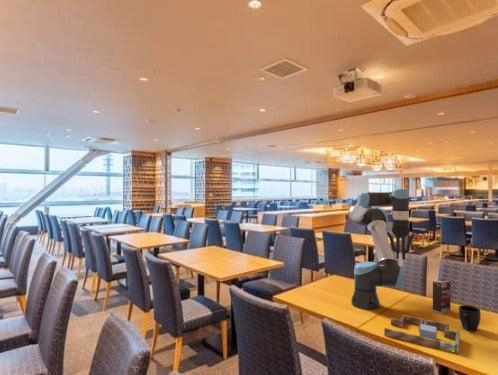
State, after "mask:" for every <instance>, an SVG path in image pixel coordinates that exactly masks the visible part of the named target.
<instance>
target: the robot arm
mask: <svg viewBox="0 0 498 375" xmlns="http://www.w3.org/2000/svg"><path fill="white" fill-rule="evenodd" d="M409 194H410V193H409V189H408V188H394V189H392V191H387V192H386V191H385V192H384V191H383V192H381V191H379V192H378V191H377V192H376V191H375V192H370V191H369V192H367V191H366V192H365V191H364V192H359V193H358V194H357V197H356V202H357V203H355V205H354V206H353V207H351V208H350V209H349V210H348V212H347V218H348V220H349V221H350V223H352V224H354V225H356V226H360V227H361V226H362V227H363V226H364V227H367V230H368V231H370V233H371V238H372V241H373V244H374V249H375V252H376V256H377V260H378V262H373V261H362V262H361V261H360V262H358V263H356V264H355V265H354V269H353V270H354V271H353V273H354V274H353V275H354V278H353V279H354V281H353V282H354V291H353V294H352V296H351V300H350V301H351V305H352V306H354V307H356V308H358V309H363V310H377V309H379V308H380V307H381V301H380V299H379V296H378V293H377V287H379V288H380V287H383V288H385V287H386V288H387V287H388V288H389V287H391V288H398V287H399V288H400V287H403V285H405V281H406V270H405V267H404V260H406V254H407V253H409V252H410V250H411V246H412V244H413V243H412V242H413V238H415V236H416V233H413V232H412V231H411V230H410V220H409V219H410V211H409V209H410V205H409V204H410V203H409V201H410V195H409ZM381 207H392V227H391V228H392V229H391V230H390V231H388V232H387V231H386V227H387V225H388V224H389V218H388V217H389V216H388V213H387V211H386V209H384V208H381ZM393 235H394V236H393ZM408 235H409V239H408V242H407V246H406V237H408ZM394 237H395V239H396V242H395V240H394ZM400 238H401V239H400ZM400 240H401V241H400ZM395 243H396V244H395ZM400 243H401V244H400ZM393 252H395V253H396V259H395V257H394V255H393Z"/></svg>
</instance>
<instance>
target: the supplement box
mask: <svg viewBox="0 0 498 375" xmlns="http://www.w3.org/2000/svg"><path fill="white" fill-rule="evenodd" d="M451 286H452V285H451V281H450V280H446V279H439V280H433V281H432V312H435V313H438V314H444V313H448V312H451V310H452V309H451V308H452V306H451V302H452V300H451V294H452V292H451V289H452V288H451Z"/></svg>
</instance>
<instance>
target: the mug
mask: <svg viewBox="0 0 498 375" xmlns="http://www.w3.org/2000/svg"><path fill="white" fill-rule="evenodd" d="M458 314H459V320H460V323H461V327H462V329H463V330H465V331H469V332H477V331H478V328H479V326H480V321H481V310H480V308H478V307H476V306H473V305H467V304H466V305H465V304H462V305H459V306H458Z"/></svg>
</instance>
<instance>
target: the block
mask: <svg viewBox="0 0 498 375" xmlns="http://www.w3.org/2000/svg"><path fill="white" fill-rule="evenodd" d="M437 331H438V329H437V327H434V326H429V325H425V324H421V326H420V331H419V336H422V337H426V338H431V339H435V340H438V339H437V338H438V336H437V334H438V332H437Z"/></svg>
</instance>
